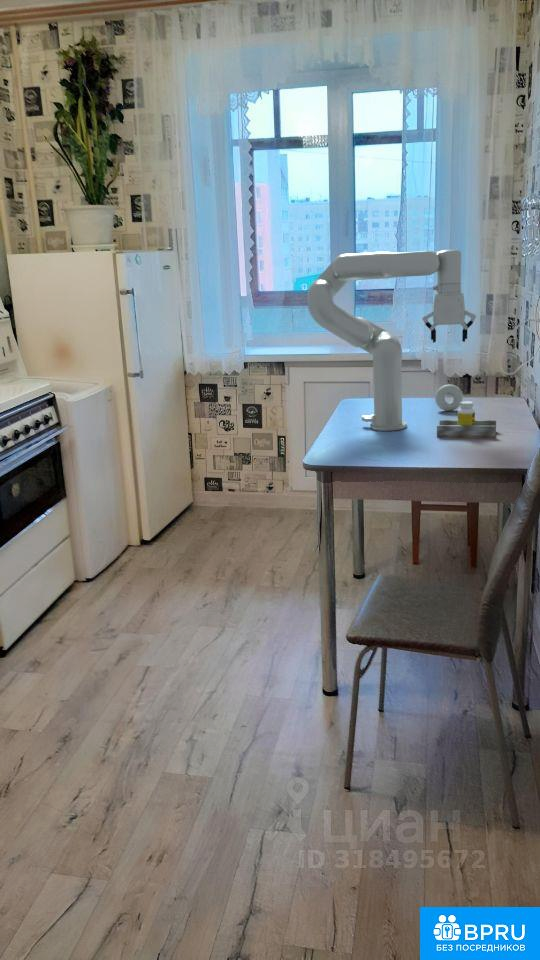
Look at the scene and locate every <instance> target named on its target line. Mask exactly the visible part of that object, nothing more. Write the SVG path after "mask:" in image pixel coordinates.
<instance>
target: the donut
mask: <svg viewBox="0 0 540 960" xmlns="http://www.w3.org/2000/svg"><path fill="white" fill-rule="evenodd" d="M448 394H451V395H452V396H453V398H452V399H451V401H446V399H445V396H446V395H448ZM463 398H464V396H463V392H462V390H461V388H459V386H457V385H455V384H449V383H448V384H444V385H442V386H440V387H439V388H438V389H437V391H436V393H435V397H434V399H435V403H436V405H437V407H438V408H439V409H440V410H443V411H444V412H445V411H446V412H452V411H455V410H456V409H459V407H460V402H463Z"/></svg>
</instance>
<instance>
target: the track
mask: <svg viewBox="0 0 540 960" xmlns="http://www.w3.org/2000/svg"><path fill="white" fill-rule="evenodd" d="M438 423H439V424H437V425H436V438H442V437H449V439H450V438H451V439H452V438H455V439H456V438H457V439H458V438H460V439H462V438H463V439H466V438H467V439H496V435H497V420H496V419H475V425H458V419H439V422H438Z"/></svg>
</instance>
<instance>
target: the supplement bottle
mask: <svg viewBox="0 0 540 960" xmlns="http://www.w3.org/2000/svg"><path fill="white" fill-rule="evenodd" d="M459 407H460V408H458V410H457V420H458V425H475V420H476V410H475V409H474V408H473V407H474V402H473V401H471V400H466V401H463V400H462V402H460V406H459Z"/></svg>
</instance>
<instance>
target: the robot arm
mask: <svg viewBox="0 0 540 960" xmlns="http://www.w3.org/2000/svg"><path fill="white" fill-rule="evenodd" d="M435 273H436V274H437V284H436V285H434V286H432V291H436V292H437V293H435V294H434V299H433V306H432V307H433V311H431V312H430V313H428V314H426V315H423V317H421V318H422V321H423V322H424V325H425V326H426V327H427V328H428V329H429V330H430V340H431V341H432V343H433V344H434V343H436V341H437V329H436V327H437V326H442V325H443V326H446V325H447V326H449V325H450V326H451V325H452V326H453V325H460V326H461V327H462V331H461V332H462V333H461V334H462V336H461V337H462V339H461V341H462V343H465V342H466V340H467V339H468V329H469V328H470V327H471V326H472V325H473V323H474V322H475V320H476V318H477V315H476V313H475V314H474V313H472V312H470V311H468V310H466V305H465V298H464V297H465V296H464V292H462V252H461V250H460V249H443V250H440V251H436V250H435V251H434V250H433V251H432V250H421V251H409V252H408V251H407V252H391V251H374V252H360V253H341V254H339V255H337V257H335V258H334V260H333V261H332V262H331V263H330V264H329V265H328V266H327V267H326V268H325V269H324V271H322V273H320V275H319V276H318V277H317V278H315V280H313V281H312V283H311V284H310V286H309V288H308V291H307V306H308V307H307V308H308V311H309V313H310V316H311V317H312V319H313V321H314V322H316V324H317V325H319V326H320V327H321V328H323V329H324V330H325V331H326V330H327V331H328V332H330V333H331V334H333V335H335V336H336V337H338V338H339V339H341V340H343V341H344V342H346V343H348V344H349V345H351V346H352V347H355V348H360V349H362V350H363V351H365V352H367V353H369V354H370V355H371V356H372V375H373V377H372V378H373V379H372V380H373V383H372V385H373V412H374V413H373V414H371V415H368V414H367V415H362V417H361V421H362V422H366V423H368V422H369V423H370V424H369V427H370V429H371V428H372V430H374V431H382V432H390V431H391V432H392V431H401V430H403V429H406V428H407V426H408V424H407V422H406V421H404V420H403V398H402V397H403V395H402V394H403V392H402V390H403V386H402V384H403V383H402V382H403V381H402V368H403V367H402V365H403V364H402V361H403V349H402V345H401V342H400V341H399V339H398V338H397V337H396V335H394V334H393V333H391V332H390V331H388V330H386V329H384V328H382V327H380V326H379V325H377V324H376V323H374V322H372V321H370V320H368V319H366V318H364V317H362V316H355V315H353V314H352V313H350V312H348V311H346V310H345V309H343V308H341V307H339V306H338V305H336V303H335V302H334V297H335V296H336V295H337V294H338V293H339V292H340V291H341V290H342V288H343V287H344V286H345V285H346V284H347V283H348V282H350V281H362V280H364V281H366V280H385V279H387V280H388V279H393V278H403V277H404V278H405V277H422V276H424V277H426V276H432V275H434V274H435ZM466 316H467V317H469V318H470V320H469V321H468V323H467V322H466V321H465V319H466ZM431 317H432V323H433V324H431V323H430V322H429V319H430V318H431Z"/></svg>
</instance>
